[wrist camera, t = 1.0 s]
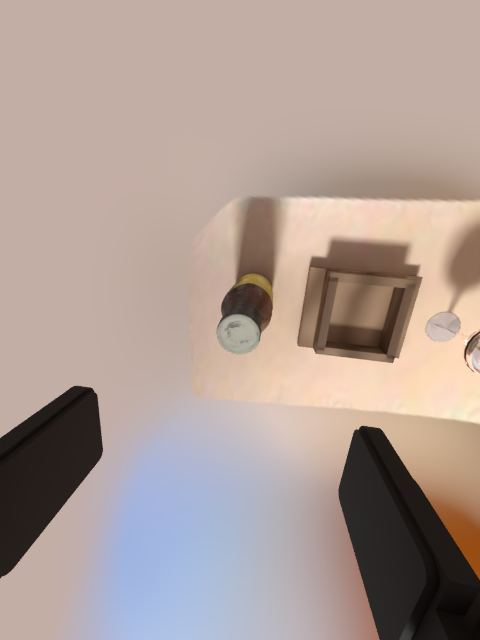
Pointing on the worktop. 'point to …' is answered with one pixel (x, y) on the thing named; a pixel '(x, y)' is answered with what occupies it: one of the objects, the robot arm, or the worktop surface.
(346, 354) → the caddy
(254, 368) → the worktop surface
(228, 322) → the sauce bottle
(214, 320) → the worktop surface
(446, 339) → the wineglass
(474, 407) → the worktop surface
